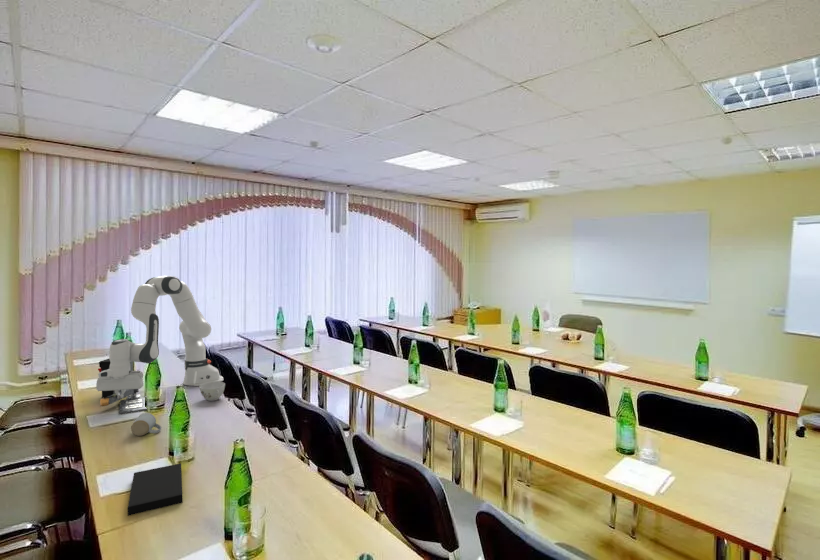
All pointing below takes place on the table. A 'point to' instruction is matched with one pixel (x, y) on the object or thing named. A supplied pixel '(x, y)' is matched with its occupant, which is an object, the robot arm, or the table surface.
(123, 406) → the plate
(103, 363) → the electrical component
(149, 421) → the ceramic mug
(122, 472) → the table surface
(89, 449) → the table surface
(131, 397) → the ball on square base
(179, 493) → the external hard drive
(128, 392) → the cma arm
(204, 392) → the teacup
